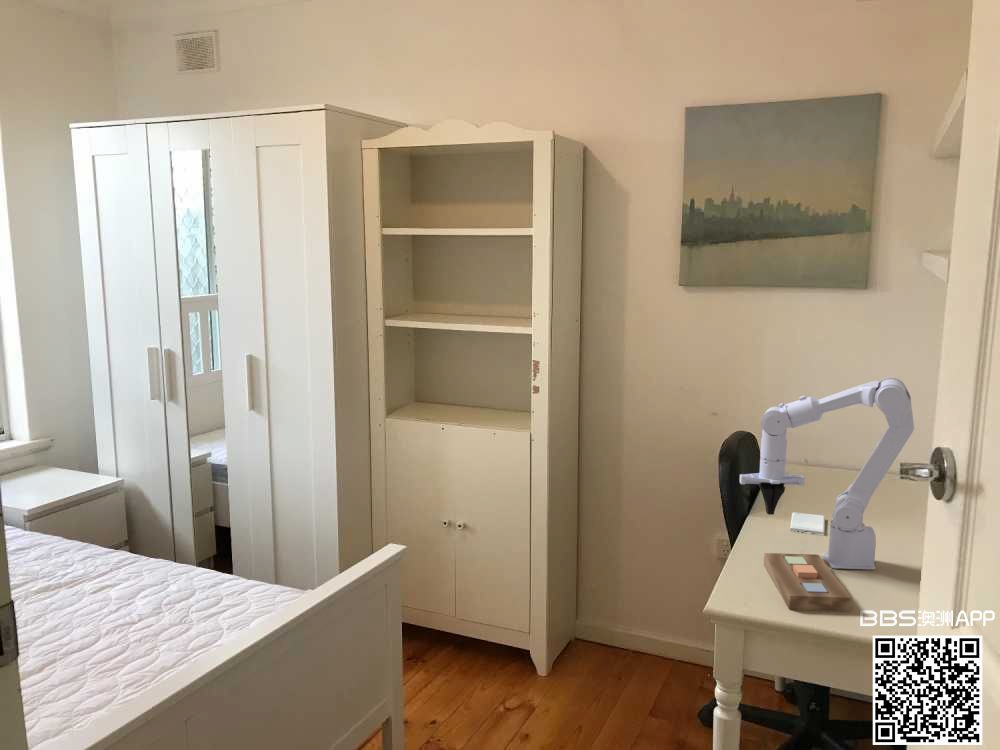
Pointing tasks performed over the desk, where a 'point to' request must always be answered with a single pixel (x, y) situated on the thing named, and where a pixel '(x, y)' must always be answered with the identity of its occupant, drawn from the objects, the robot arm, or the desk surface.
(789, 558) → the sage button
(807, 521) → the hard drive
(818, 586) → the slate button
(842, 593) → the button panel
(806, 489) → the desk surface
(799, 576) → the terracotta button
